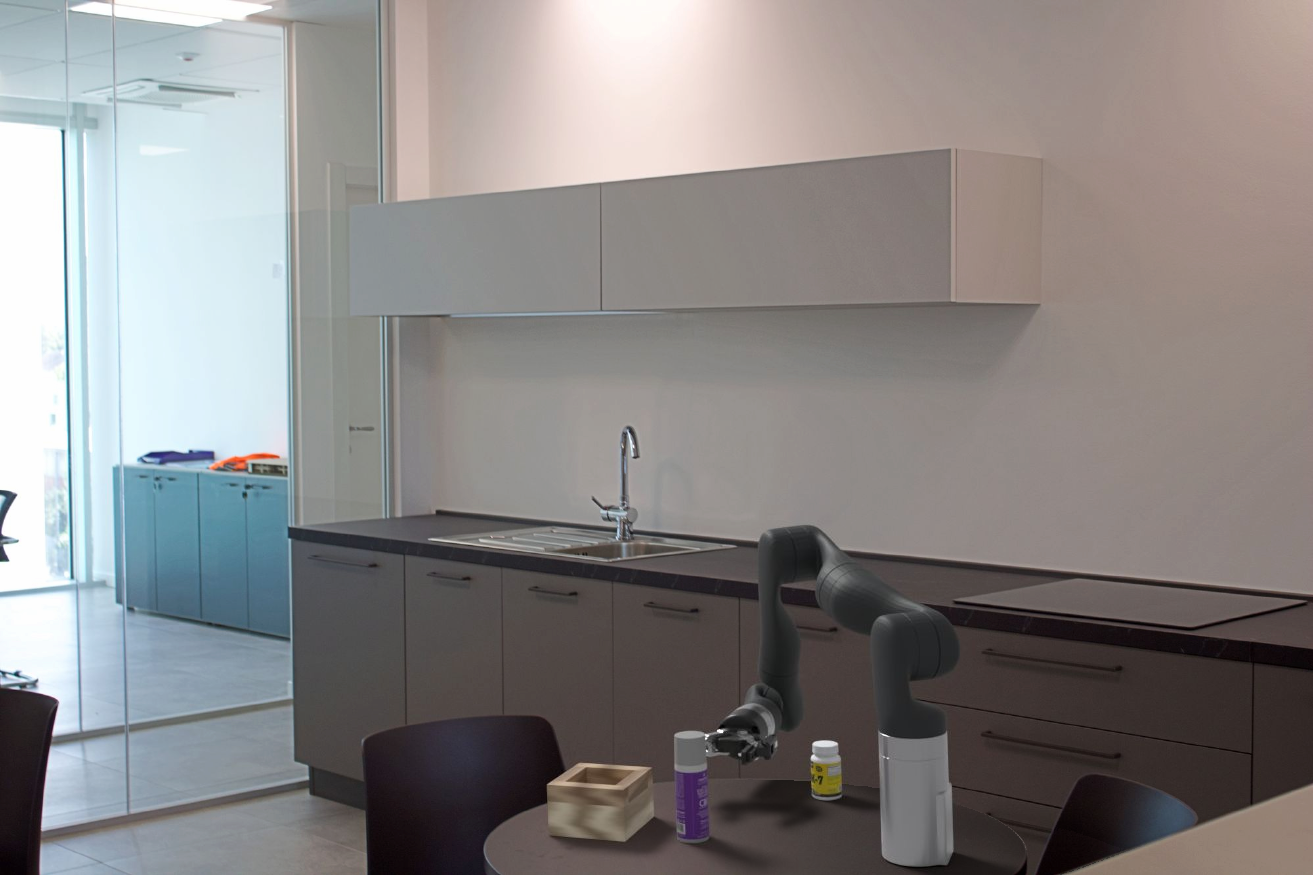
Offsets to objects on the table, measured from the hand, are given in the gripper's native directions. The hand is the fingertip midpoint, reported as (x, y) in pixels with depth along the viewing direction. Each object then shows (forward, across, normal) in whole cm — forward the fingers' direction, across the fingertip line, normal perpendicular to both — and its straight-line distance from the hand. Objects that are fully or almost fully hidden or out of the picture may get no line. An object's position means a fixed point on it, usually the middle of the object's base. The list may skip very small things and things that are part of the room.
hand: (716, 756), depth 210 cm
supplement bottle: (-12, +14, +9) cm, 20 cm away
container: (+12, 0, +9) cm, 15 cm away
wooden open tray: (+10, -15, +9) cm, 20 cm away
